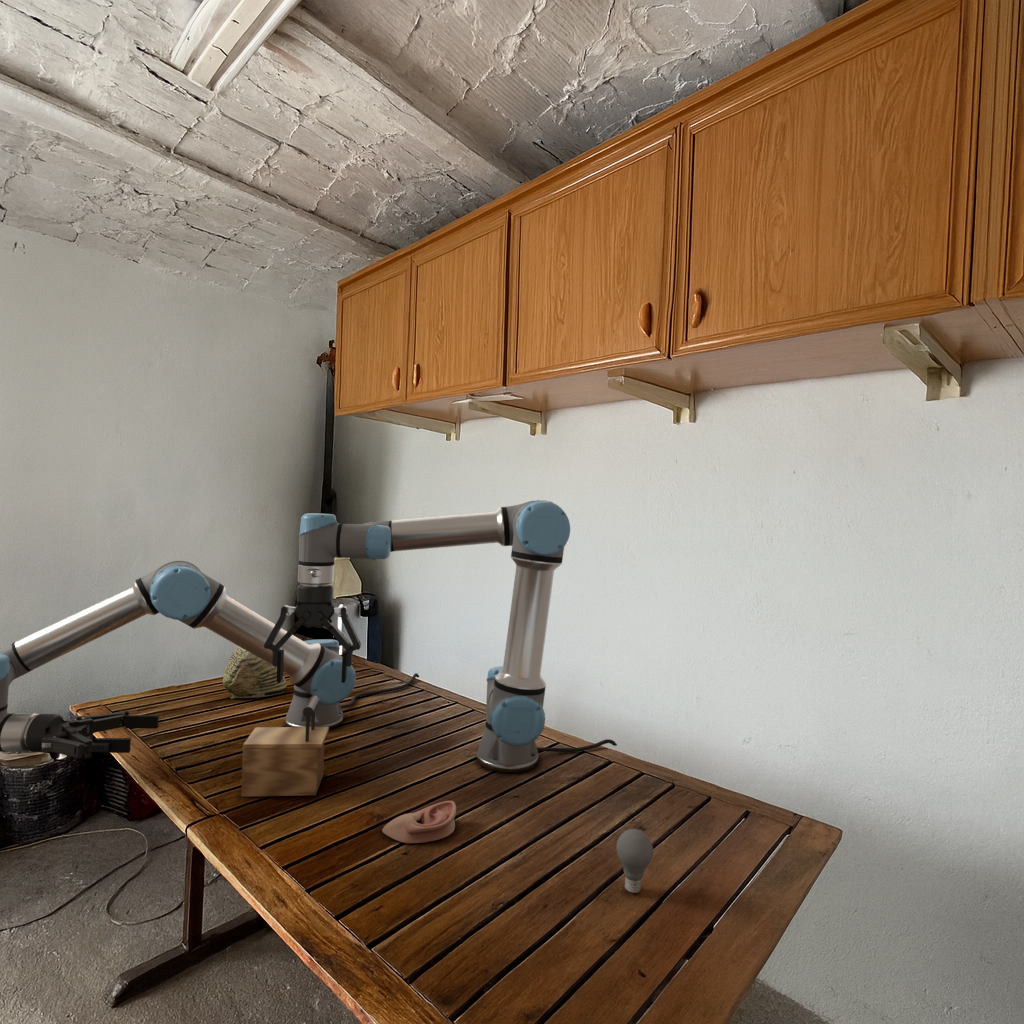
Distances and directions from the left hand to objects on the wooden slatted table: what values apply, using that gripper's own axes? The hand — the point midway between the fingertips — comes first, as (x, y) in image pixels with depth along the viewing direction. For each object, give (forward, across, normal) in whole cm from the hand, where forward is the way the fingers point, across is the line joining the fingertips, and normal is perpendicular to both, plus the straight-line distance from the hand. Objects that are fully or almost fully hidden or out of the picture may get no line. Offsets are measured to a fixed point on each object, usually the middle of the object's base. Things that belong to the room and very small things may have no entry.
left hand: (144, 733), depth 134 cm
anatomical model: (+58, +20, -11) cm, 63 cm away
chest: (+29, 0, -11) cm, 31 cm away
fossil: (+7, -64, -11) cm, 65 cm away
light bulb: (+94, +42, -11) cm, 103 cm away
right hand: (+34, 0, +12) cm, 36 cm away
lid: (+29, 0, -1) cm, 29 cm away
